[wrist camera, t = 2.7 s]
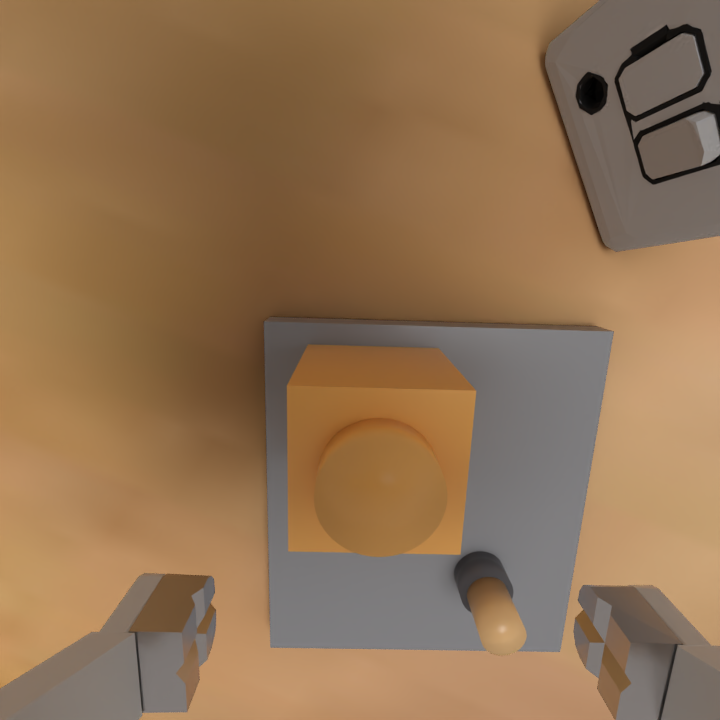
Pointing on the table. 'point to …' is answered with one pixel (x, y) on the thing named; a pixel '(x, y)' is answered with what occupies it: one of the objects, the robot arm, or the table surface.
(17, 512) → the table surface
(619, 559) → the table surface
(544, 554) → the board
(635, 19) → the electrical switch
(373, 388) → the orange knobbed cube
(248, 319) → the table surface
